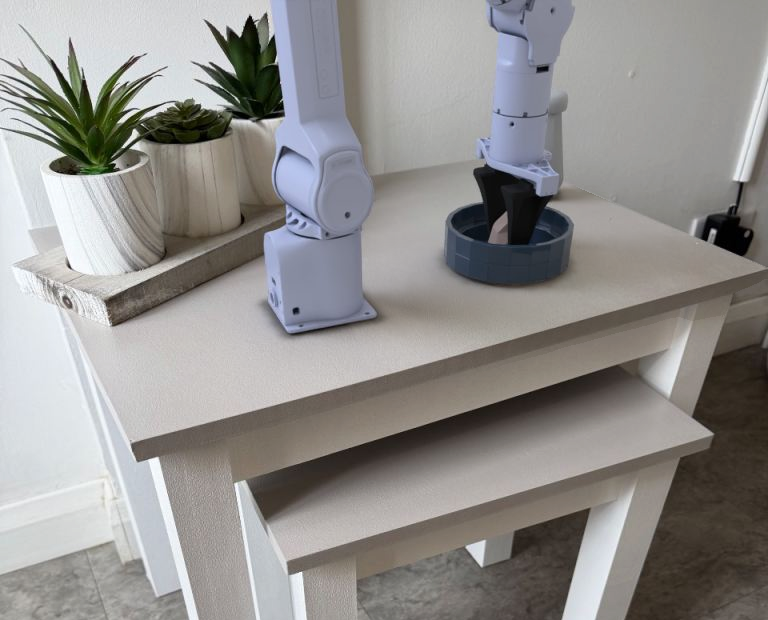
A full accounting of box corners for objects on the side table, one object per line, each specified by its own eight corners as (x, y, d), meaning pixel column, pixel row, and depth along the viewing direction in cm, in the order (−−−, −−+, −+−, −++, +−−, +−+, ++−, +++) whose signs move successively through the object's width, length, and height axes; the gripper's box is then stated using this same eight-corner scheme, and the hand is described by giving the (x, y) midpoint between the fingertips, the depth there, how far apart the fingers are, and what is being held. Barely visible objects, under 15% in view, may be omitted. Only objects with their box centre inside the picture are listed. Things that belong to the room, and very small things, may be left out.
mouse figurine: (483, 238, 95) (488, 181, 91) (539, 256, 91) (547, 197, 87) (457, 251, 92) (461, 192, 88) (513, 270, 88) (520, 209, 84)
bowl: (478, 296, 84) (481, 255, 81) (424, 248, 94) (425, 210, 91) (592, 275, 88) (599, 235, 85) (528, 230, 98) (533, 194, 95)
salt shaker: (560, 203, 106) (574, 96, 97) (517, 200, 106) (528, 94, 98) (561, 189, 110) (575, 85, 102) (520, 186, 111) (530, 83, 102)
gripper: (592, 124, 77) (572, 259, 86) (520, 91, 87) (508, 214, 96) (529, 132, 75) (514, 269, 84) (462, 97, 85) (455, 222, 94)
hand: (507, 240), depth 90 cm, fingers closed on mouse figurine, 4 cm apart
